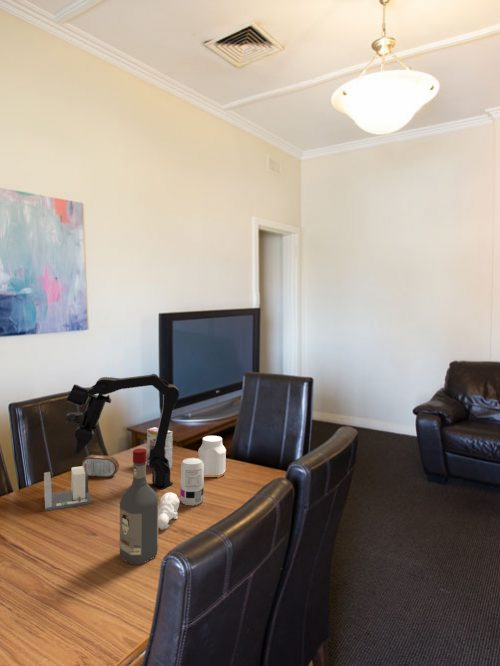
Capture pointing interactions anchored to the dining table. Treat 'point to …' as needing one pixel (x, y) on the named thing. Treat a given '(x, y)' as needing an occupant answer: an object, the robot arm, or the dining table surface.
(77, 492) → the block
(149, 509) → the liquor
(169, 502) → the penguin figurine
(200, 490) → the supplement can
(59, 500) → the base
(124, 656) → the dining table surface
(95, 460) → the tin
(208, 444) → the jar
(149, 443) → the candy bar box
